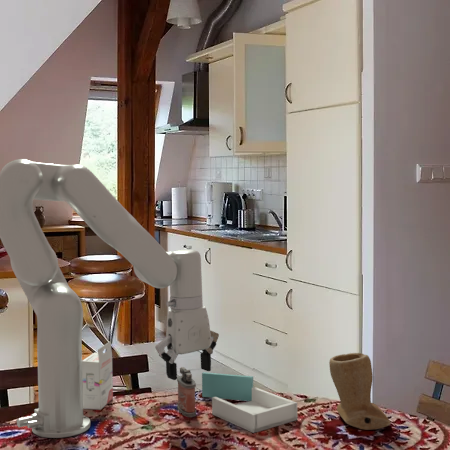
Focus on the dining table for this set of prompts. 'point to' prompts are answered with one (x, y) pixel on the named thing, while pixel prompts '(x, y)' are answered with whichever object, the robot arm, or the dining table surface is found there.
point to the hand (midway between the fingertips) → (189, 374)
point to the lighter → (186, 393)
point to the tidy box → (257, 411)
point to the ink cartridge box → (97, 378)
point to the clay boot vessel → (356, 391)
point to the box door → (227, 386)
